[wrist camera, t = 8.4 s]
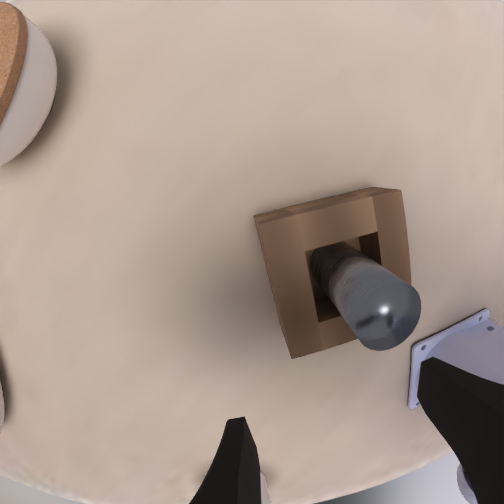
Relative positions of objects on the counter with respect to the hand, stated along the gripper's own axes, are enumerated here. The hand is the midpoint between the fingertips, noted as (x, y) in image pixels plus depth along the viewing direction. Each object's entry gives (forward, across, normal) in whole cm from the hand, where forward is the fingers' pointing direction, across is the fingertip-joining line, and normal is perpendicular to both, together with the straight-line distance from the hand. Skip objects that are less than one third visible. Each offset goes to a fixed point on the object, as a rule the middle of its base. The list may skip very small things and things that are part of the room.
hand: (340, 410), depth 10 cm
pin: (+9, -3, -3) cm, 10 cm away
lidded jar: (+10, +15, -19) cm, 27 cm away
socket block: (+10, -3, -2) cm, 11 cm away
